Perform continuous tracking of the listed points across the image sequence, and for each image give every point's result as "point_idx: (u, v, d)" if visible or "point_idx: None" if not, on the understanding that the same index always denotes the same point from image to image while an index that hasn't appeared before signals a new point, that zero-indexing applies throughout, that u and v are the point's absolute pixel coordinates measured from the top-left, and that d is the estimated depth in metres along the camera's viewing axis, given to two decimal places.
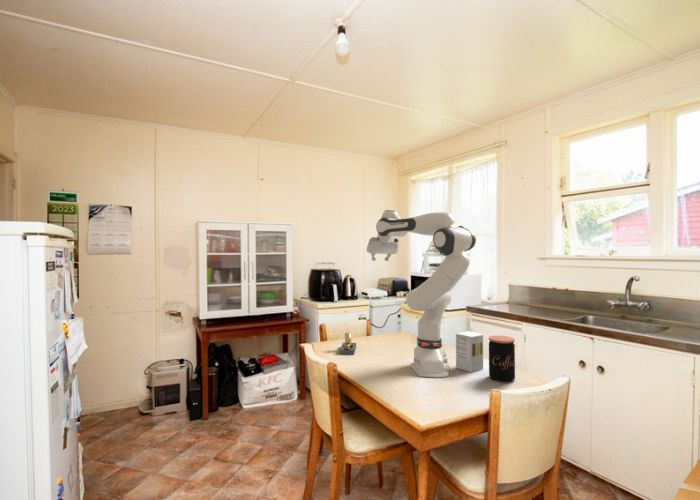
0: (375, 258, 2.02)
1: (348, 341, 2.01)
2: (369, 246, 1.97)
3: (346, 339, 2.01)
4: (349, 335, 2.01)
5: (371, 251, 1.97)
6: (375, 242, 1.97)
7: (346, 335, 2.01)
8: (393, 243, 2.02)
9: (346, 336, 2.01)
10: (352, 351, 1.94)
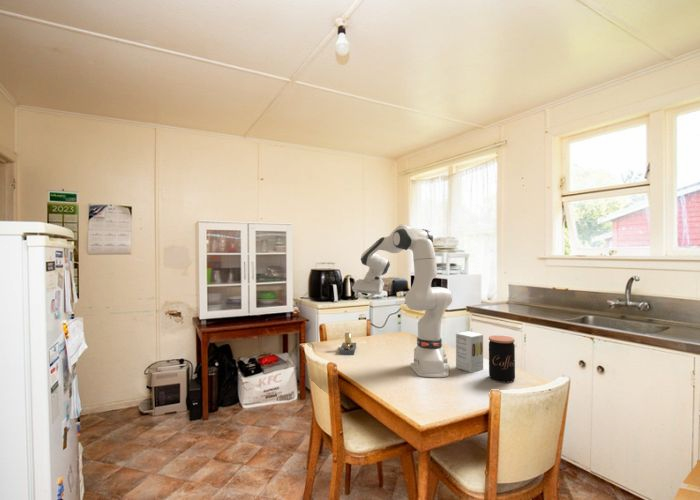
0: (357, 294, 2.17)
1: (348, 341, 2.01)
2: None
3: (346, 339, 2.01)
4: (349, 335, 2.01)
5: (353, 287, 2.21)
6: (358, 280, 2.24)
7: (346, 335, 2.01)
8: (374, 281, 2.16)
9: (346, 336, 2.01)
10: (352, 351, 1.94)
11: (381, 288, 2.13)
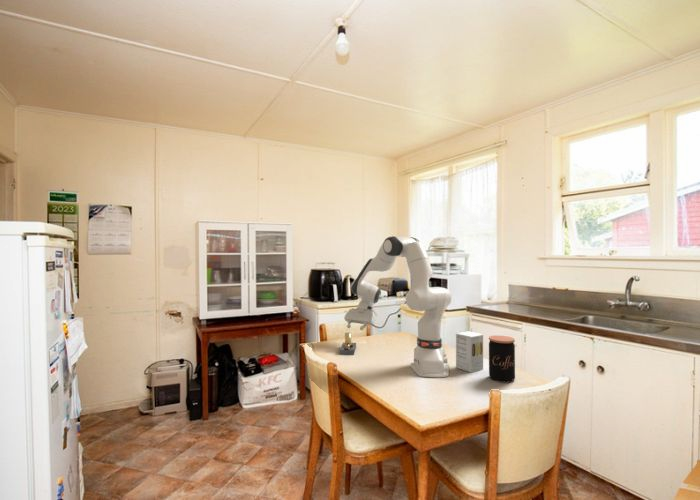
0: (349, 324, 2.11)
1: (348, 341, 2.01)
2: None
3: (346, 339, 2.01)
4: (349, 335, 2.01)
5: (345, 317, 2.16)
6: (351, 310, 2.18)
7: (346, 335, 2.01)
8: (367, 310, 2.10)
9: (346, 336, 2.01)
10: (352, 351, 1.94)
11: (374, 318, 2.07)
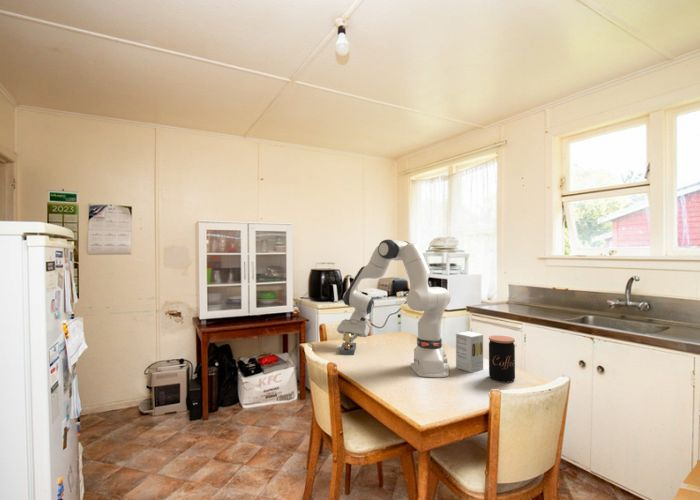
0: None
1: (348, 341, 2.01)
2: None
3: (346, 339, 2.01)
4: (349, 335, 2.01)
5: (338, 328, 2.10)
6: (344, 321, 2.12)
7: (346, 335, 2.01)
8: (360, 322, 2.04)
9: (346, 336, 2.01)
10: (352, 351, 1.94)
11: (367, 330, 2.01)
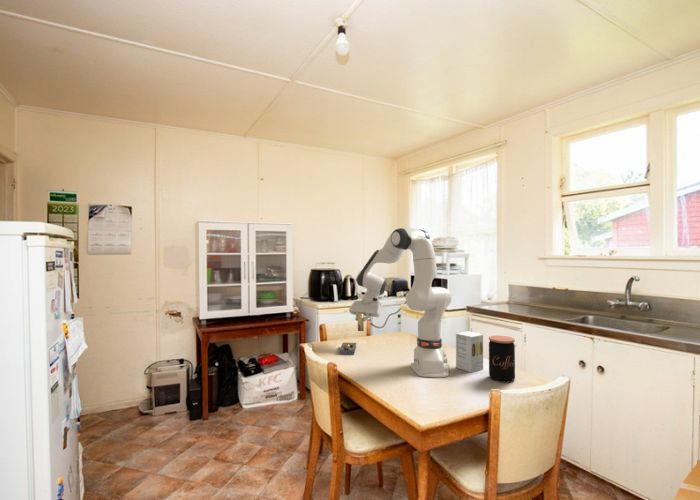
0: (357, 317, 2.05)
1: (361, 321, 2.03)
2: None
3: (359, 319, 2.03)
4: (361, 315, 2.03)
5: (350, 309, 2.11)
6: (356, 302, 2.14)
7: (359, 315, 2.03)
8: (372, 302, 2.06)
9: (359, 316, 2.03)
10: (352, 351, 1.94)
11: (379, 310, 2.03)
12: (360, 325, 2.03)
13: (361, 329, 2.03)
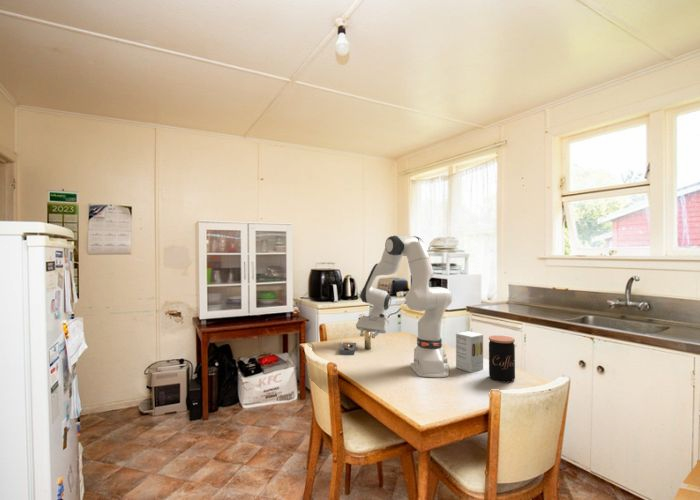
0: (362, 332, 2.07)
1: (368, 340, 2.04)
2: None
3: (366, 338, 2.04)
4: (368, 334, 2.04)
5: (357, 324, 2.13)
6: (363, 317, 2.15)
7: (366, 334, 2.04)
8: (379, 318, 2.07)
9: (366, 335, 2.04)
10: (352, 351, 1.94)
11: (386, 326, 2.04)
12: (367, 344, 2.04)
13: (368, 348, 2.04)
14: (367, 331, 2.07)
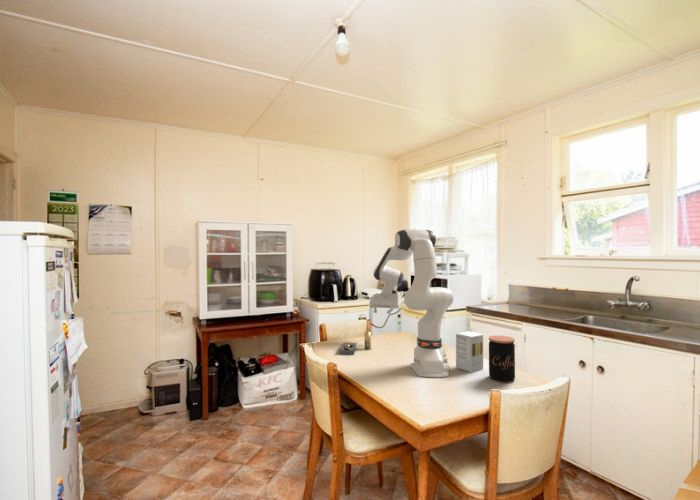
0: (375, 309, 2.17)
1: (368, 340, 2.04)
2: None
3: (366, 338, 2.04)
4: (368, 334, 2.04)
5: (371, 302, 2.21)
6: (376, 295, 2.23)
7: (366, 334, 2.04)
8: (392, 295, 2.16)
9: (366, 335, 2.04)
10: (352, 351, 1.94)
11: (399, 302, 2.13)
12: (367, 344, 2.04)
13: (368, 348, 2.04)
14: (367, 331, 2.07)
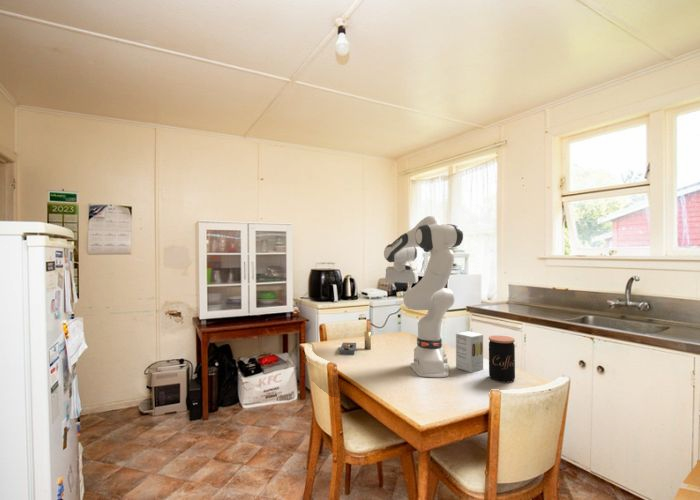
0: (394, 287, 2.09)
1: (368, 340, 2.04)
2: None
3: (366, 338, 2.04)
4: (368, 334, 2.04)
5: (386, 279, 2.11)
6: (389, 270, 2.10)
7: (366, 334, 2.04)
8: (406, 271, 2.03)
9: (366, 335, 2.04)
10: (352, 351, 1.94)
11: (416, 276, 2.02)
12: (367, 344, 2.04)
13: (368, 348, 2.04)
14: (367, 331, 2.07)
